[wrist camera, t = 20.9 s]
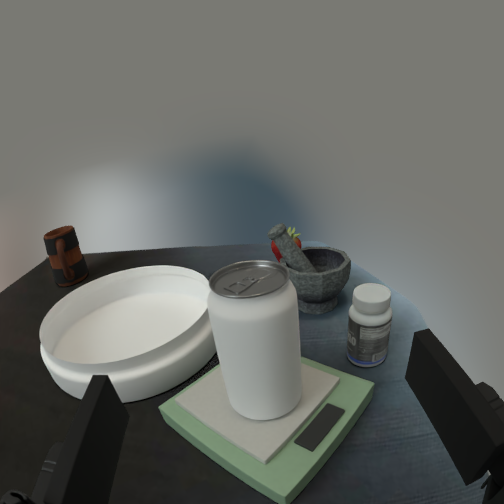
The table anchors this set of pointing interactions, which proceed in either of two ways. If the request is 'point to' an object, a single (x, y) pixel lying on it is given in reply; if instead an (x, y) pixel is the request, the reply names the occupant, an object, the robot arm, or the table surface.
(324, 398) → the kitchen scale
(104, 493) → the robot arm
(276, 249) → the fruit
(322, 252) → the mortar and pestle
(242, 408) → the can
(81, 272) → the mug
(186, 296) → the white round shallow dish
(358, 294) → the pill bottle
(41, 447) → the table surface
